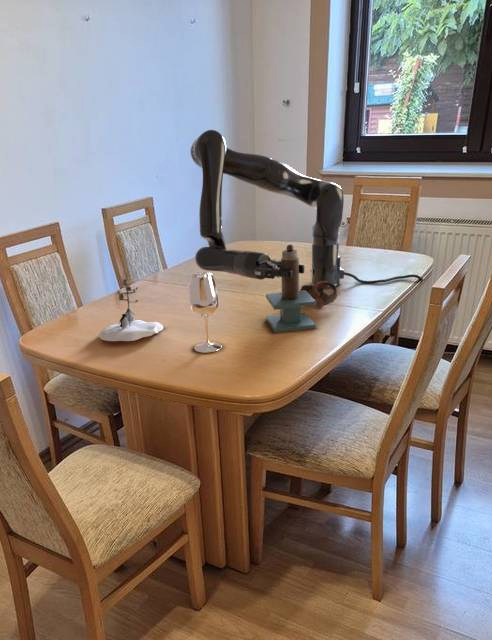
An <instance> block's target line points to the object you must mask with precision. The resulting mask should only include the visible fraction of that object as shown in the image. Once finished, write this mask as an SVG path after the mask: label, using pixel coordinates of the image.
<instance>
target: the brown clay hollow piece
mask: <svg viewBox="0 0 492 640" xmlns="http://www.w3.org/2000/svg"><path fill="white" fill-rule="evenodd" d="M328 286H330V288H331V290H333V293H331V294H328V293H326V292H324V290H325V289H327V288H326V287H328ZM301 290H306V291H307V292H308V294H309V295H310V296H311V297H312V298H313V299H314V300H315V301H316V305H315V307H316V308H318V309H322V308H323V307H325V306H328V305H330V304H332V303H334V302H335V301H336V300H337V298H338V289H337V286H335V285H334V284H333V283H331V282H328V281H319V282H317V283H316V284H315V285H314V286H312V285H309V284H304V285H302V286H301V287H300V288H299V291H301Z"/></svg>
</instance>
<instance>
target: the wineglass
mask: <svg viewBox="0 0 492 640" xmlns="http://www.w3.org/2000/svg"><path fill="white" fill-rule="evenodd" d="M189 283H190V285H189V292H188V293H189V295H188V301H189V302H188V303H189V307H190V309H191V311H192V313H193V314H194V315H195V316H197V317H199V318H201V319H202V320H203V324H204V333H205V342H200V343H198V344H196V345H195V346H194V349H193V350H194V351H196V352H198V353H203V354H209V353H215V352H218V351H220V350H221V349H222V344H221V343H219V342H216V341H210V339H209V328H208V326H209V325H208V320H209V318H211V317H212V316H213V315H214V314H215V313H216V312H217V311H218V309H219V305H220V298H219V292H218V289H217V284H216V280H215V278H214V273H212V272H211V271H199V272H195V273H192V274H191V276H190V282H189Z"/></svg>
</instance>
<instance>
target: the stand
mask: <svg viewBox="0 0 492 640" xmlns="http://www.w3.org/2000/svg"><path fill="white" fill-rule="evenodd" d="M265 298H266V300H267V301H268V303H269V304H270V306H271V307H272V308H273V310H274V311H277V310H279V314H275V315H266V321H267V324H268V325H269V326H270V328H271V329H272V331H273V332H274V333H275V334H277V333H279V334H280V333H287V332H288V333H289V332H297V331H306V330H316V323H315V322H314V321H313V320H312V319H311V317H310V316H309V315H308V314H307V312H306V311H304V312H301V311H302V308H304V307H314V306H315V307H316V304H317V300H316V299H315V300H314V299H313V298H312V297H311V296H310V295H309V294H308V292H307V291H306V290H301V291H300V290H299V298H298V299H295V300H284V299H282V291H280V292H272V293H265Z"/></svg>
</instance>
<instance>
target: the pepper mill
mask: <svg viewBox="0 0 492 640" xmlns="http://www.w3.org/2000/svg"><path fill="white" fill-rule="evenodd" d="M285 248H286V249H284V250H282V251H281V259H280V260H281V268H284V269H290V270H292V278H285V277H280V278H281V279H280V281H281V283H280V284H281V285H280V287H281V292H282V299H284V300H295V299H298V298H299V291H300V273H299V265H300V258H299V250H298V249H294V248H295V247H294V245H292V244H288V245H286V247H285Z"/></svg>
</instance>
